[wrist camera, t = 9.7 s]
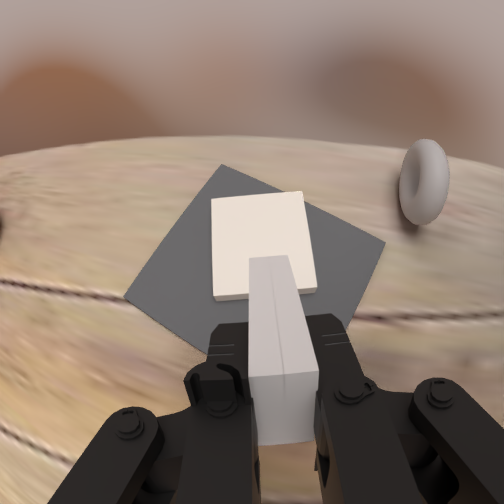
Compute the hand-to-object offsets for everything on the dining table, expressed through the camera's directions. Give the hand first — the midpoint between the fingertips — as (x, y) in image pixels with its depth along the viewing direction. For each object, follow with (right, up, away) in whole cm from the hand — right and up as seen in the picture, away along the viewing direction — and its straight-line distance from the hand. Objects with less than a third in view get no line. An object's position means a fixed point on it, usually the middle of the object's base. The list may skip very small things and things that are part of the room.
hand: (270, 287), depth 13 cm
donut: (+19, +7, +24) cm, 31 cm away
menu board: (+1, -3, +19) cm, 19 cm away
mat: (0, -1, +21) cm, 21 cm away
